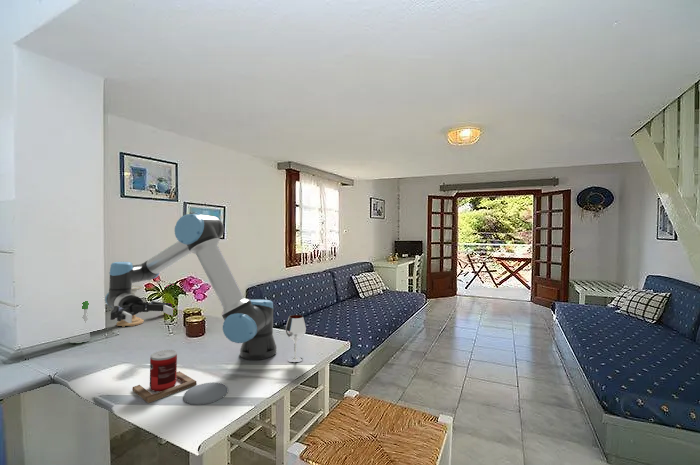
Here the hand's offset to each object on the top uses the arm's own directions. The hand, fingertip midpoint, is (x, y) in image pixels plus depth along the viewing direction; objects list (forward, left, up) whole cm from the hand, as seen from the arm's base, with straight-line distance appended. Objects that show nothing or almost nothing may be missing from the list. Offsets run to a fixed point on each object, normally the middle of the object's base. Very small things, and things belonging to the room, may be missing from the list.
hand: (152, 315), depth 114 cm
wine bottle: (+44, -44, -22) cm, 66 cm away
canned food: (-6, +8, -23) cm, 24 cm away
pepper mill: (+19, -88, -22) cm, 93 cm away
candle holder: (+34, -71, -23) cm, 82 cm away
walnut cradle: (-7, +9, -22) cm, 25 cm away
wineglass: (-51, -6, -22) cm, 56 cm away
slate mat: (-21, +16, -22) cm, 34 cm away
